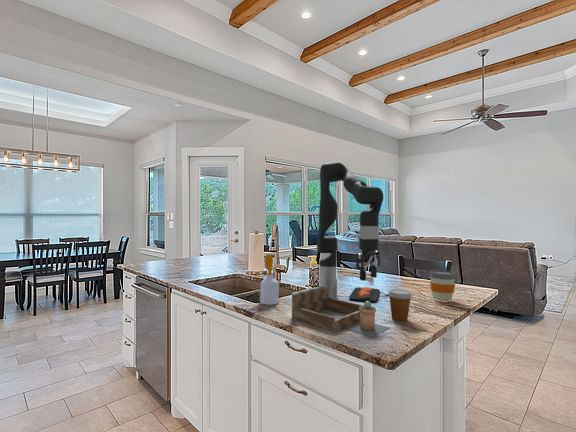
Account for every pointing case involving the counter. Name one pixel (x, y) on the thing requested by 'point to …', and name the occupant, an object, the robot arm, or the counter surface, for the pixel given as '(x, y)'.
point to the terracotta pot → (367, 317)
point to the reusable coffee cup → (442, 284)
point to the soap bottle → (269, 284)
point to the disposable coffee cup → (399, 304)
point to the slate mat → (373, 333)
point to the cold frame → (317, 300)
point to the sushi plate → (365, 294)
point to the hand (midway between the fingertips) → (368, 278)
